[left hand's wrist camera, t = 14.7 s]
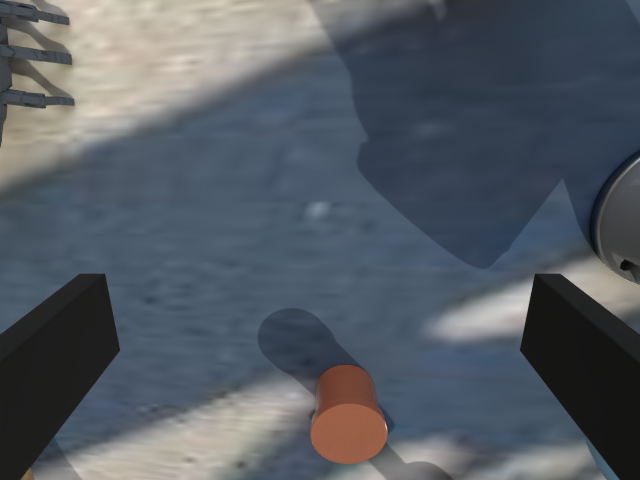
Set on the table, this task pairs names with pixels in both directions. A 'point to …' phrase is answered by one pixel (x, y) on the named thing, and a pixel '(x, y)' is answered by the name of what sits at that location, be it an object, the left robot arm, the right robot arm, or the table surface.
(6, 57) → the toy
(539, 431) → the table surface
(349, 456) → the terracotta cylinder
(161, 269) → the table surface
